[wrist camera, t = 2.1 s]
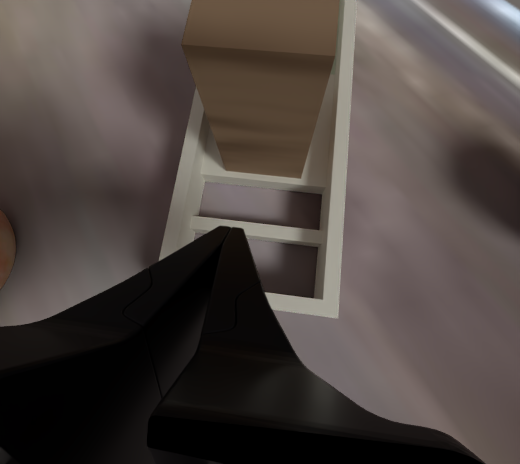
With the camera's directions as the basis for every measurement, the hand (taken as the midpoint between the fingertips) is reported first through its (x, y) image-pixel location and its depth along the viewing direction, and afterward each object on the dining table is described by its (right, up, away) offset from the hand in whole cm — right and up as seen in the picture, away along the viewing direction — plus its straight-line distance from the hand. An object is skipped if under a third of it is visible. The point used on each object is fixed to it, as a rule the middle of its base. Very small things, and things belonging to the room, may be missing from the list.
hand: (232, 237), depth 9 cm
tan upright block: (+2, +9, +12) cm, 15 cm away
